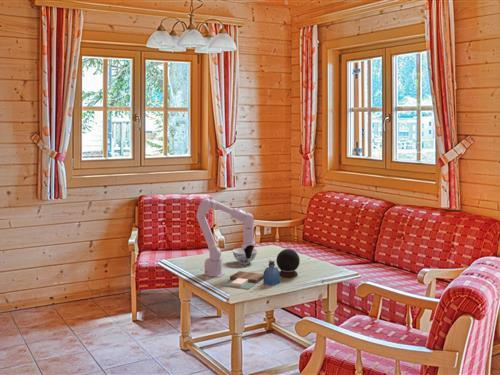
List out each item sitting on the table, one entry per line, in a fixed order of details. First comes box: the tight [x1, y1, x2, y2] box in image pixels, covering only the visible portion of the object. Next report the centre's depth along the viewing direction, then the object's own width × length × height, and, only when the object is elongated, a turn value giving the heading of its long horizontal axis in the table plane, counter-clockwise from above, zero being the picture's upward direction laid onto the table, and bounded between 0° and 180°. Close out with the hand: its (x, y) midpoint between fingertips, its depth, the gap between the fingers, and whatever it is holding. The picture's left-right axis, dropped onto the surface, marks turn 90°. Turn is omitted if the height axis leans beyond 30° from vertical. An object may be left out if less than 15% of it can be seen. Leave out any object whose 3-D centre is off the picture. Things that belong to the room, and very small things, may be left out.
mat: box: [220, 279, 257, 290], centre depth 297 cm, size 16×10×1 cm, turn 67°
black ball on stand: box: [275, 248, 301, 279], centre depth 315 cm, size 13×13×15 cm
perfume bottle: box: [262, 260, 281, 286], centre depth 300 cm, size 6×6×12 cm
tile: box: [231, 278, 248, 287], centre depth 298 cm, size 6×9×2 cm, turn 157°
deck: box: [229, 270, 264, 285], centre depth 308 cm, size 16×12×2 cm
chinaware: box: [232, 247, 258, 265], centre depth 341 cm, size 15×15×8 cm
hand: (248, 258), depth 315 cm, fingers closed
